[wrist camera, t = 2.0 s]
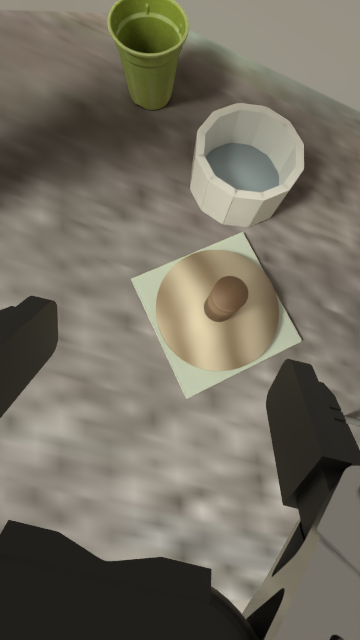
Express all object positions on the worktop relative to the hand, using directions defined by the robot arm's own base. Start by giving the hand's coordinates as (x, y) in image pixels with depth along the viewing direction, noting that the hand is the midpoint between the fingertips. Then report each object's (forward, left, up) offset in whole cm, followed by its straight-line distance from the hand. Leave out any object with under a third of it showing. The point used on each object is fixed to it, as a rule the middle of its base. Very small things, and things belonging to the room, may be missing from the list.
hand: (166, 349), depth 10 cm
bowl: (+20, +19, -25) cm, 37 cm away
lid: (+9, +4, -24) cm, 26 cm away
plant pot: (+15, +37, -25) cm, 47 cm away
